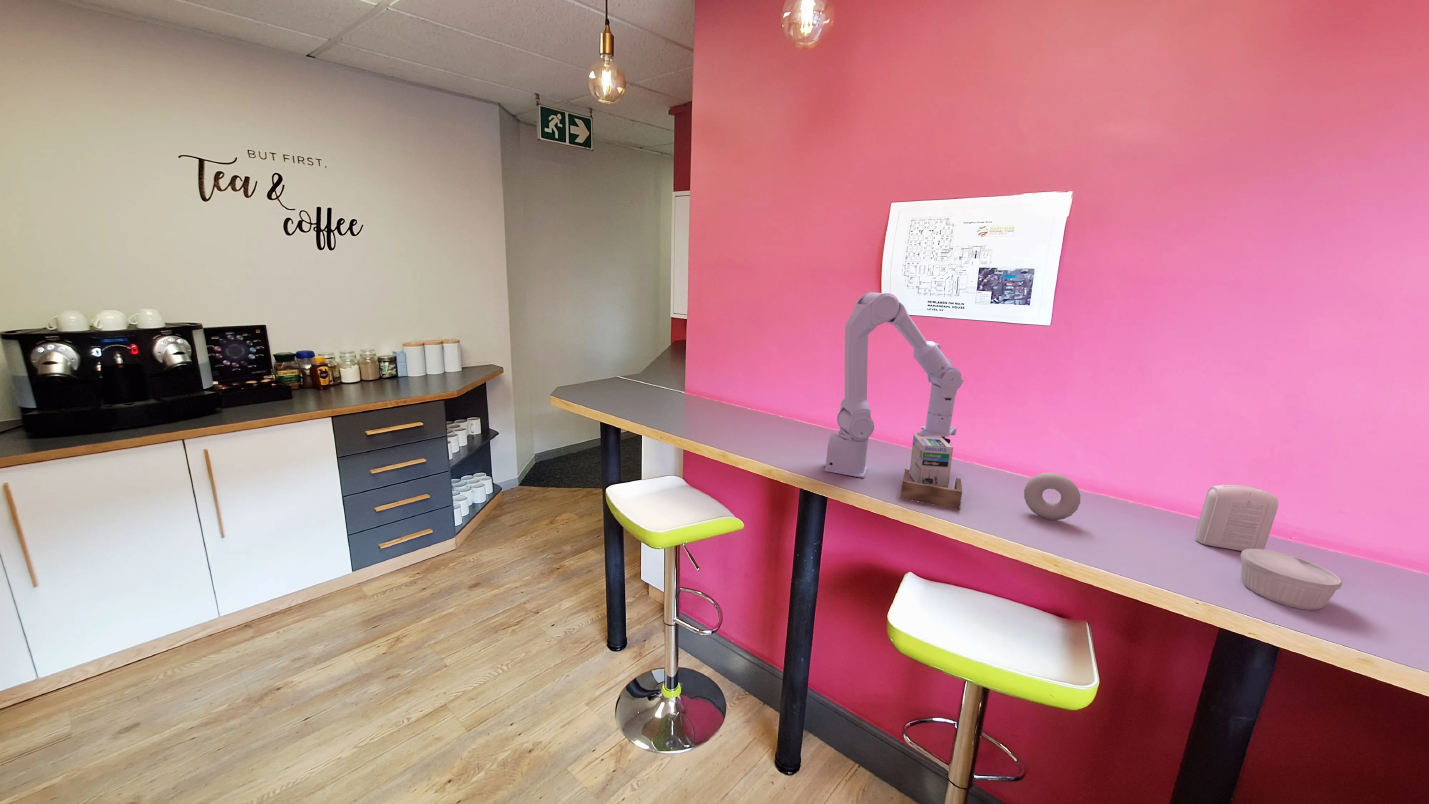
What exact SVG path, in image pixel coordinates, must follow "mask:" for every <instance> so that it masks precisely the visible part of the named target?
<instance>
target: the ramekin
mask: <svg viewBox="0 0 1429 804" xmlns="http://www.w3.org/2000/svg"><path fill="white" fill-rule="evenodd" d="M1240 559H1241V564H1240V565H1241V569H1240V579H1241V581H1242V582H1243V584H1244V586H1245V587H1246V588H1247V589H1249V590H1250V591H1251V592H1253V593H1254V594H1257V595H1258V596H1261V597H1262V598H1265V599H1267V600H1270V601H1271V602H1275V603H1277V604H1281V605H1284V606H1287V607H1291V608H1294V609H1299V610H1307V611H1311V610H1312V611H1315V610H1319V609H1322V608H1324V607H1326V605H1327V604H1328V603H1329V601H1330V600H1331V598H1333V596H1334V594H1335V593H1336V591H1338V590H1340V588H1341V587H1342V584H1343V581H1342V580H1341V578H1340V577H1339V576H1338V575H1336V574H1335V573H1334V572H1332V571H1331V570H1329V569H1328V568H1325V567H1323V566H1321V565H1319V564H1316V563H1314V562H1312V561H1308V560H1306V559H1303V558H1301V557H1297V556H1294V555H1291V554H1287V553H1284V552H1279V551H1275V550H1270V549H1246V550H1244V551H1241V553H1240Z"/></svg>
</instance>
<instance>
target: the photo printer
mask: <svg viewBox="0 0 1429 804" xmlns="http://www.w3.org/2000/svg"><path fill="white" fill-rule="evenodd" d="M1278 508H1279V499H1278V497H1277V496H1276V495H1273V494H1272V493H1271V492H1268V491H1265V490H1263V489H1260V488H1256V487H1253V486H1247V485H1239V484H1220V485H1212V486H1211V487H1209V489H1208V490H1207V493H1206V496H1205V499H1204V503H1203V506H1202V509H1201V512H1200V516H1199V520H1198V523H1197V527H1196V529H1195V535H1194V536H1195V537H1194V539H1195V541H1196V542H1198V543H1199V544H1202V545H1205V546H1212V547H1217V548H1222V549H1228V550H1234V551H1241V552H1242V551H1244V550H1246V549H1264V550H1266V545H1267V542H1268V539H1269V536H1270V534H1271V530H1272V528H1273V524H1274V521H1275V517H1276V514H1277V511H1278Z"/></svg>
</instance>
